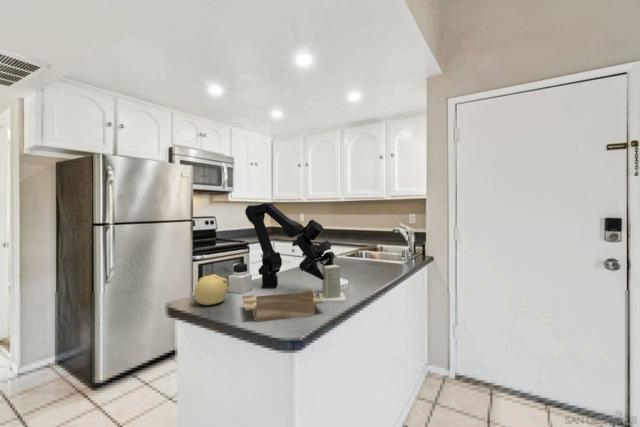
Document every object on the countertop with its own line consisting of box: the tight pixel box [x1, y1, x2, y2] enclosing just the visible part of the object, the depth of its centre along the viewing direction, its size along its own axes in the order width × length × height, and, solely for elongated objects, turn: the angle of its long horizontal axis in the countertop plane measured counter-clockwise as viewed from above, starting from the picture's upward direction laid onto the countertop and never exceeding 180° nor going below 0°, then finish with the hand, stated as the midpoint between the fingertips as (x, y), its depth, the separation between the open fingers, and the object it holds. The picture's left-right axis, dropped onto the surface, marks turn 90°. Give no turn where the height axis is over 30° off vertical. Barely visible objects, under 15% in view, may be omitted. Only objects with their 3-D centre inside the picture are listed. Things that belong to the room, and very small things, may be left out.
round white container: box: [321, 277, 349, 292], centre depth 144 cm, size 12×12×4 cm
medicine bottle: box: [228, 262, 253, 295], centre depth 139 cm, size 7×7×12 cm
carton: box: [241, 289, 324, 322], centre depth 113 cm, size 16×26×8 cm, turn 107°
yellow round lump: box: [194, 273, 229, 306], centre depth 122 cm, size 11×12×11 cm
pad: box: [318, 291, 347, 304], centre depth 127 cm, size 10×10×1 cm
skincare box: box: [321, 264, 341, 298], centre depth 126 cm, size 6×4×12 cm
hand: (329, 277), depth 127 cm, fingers open, 9 cm apart
